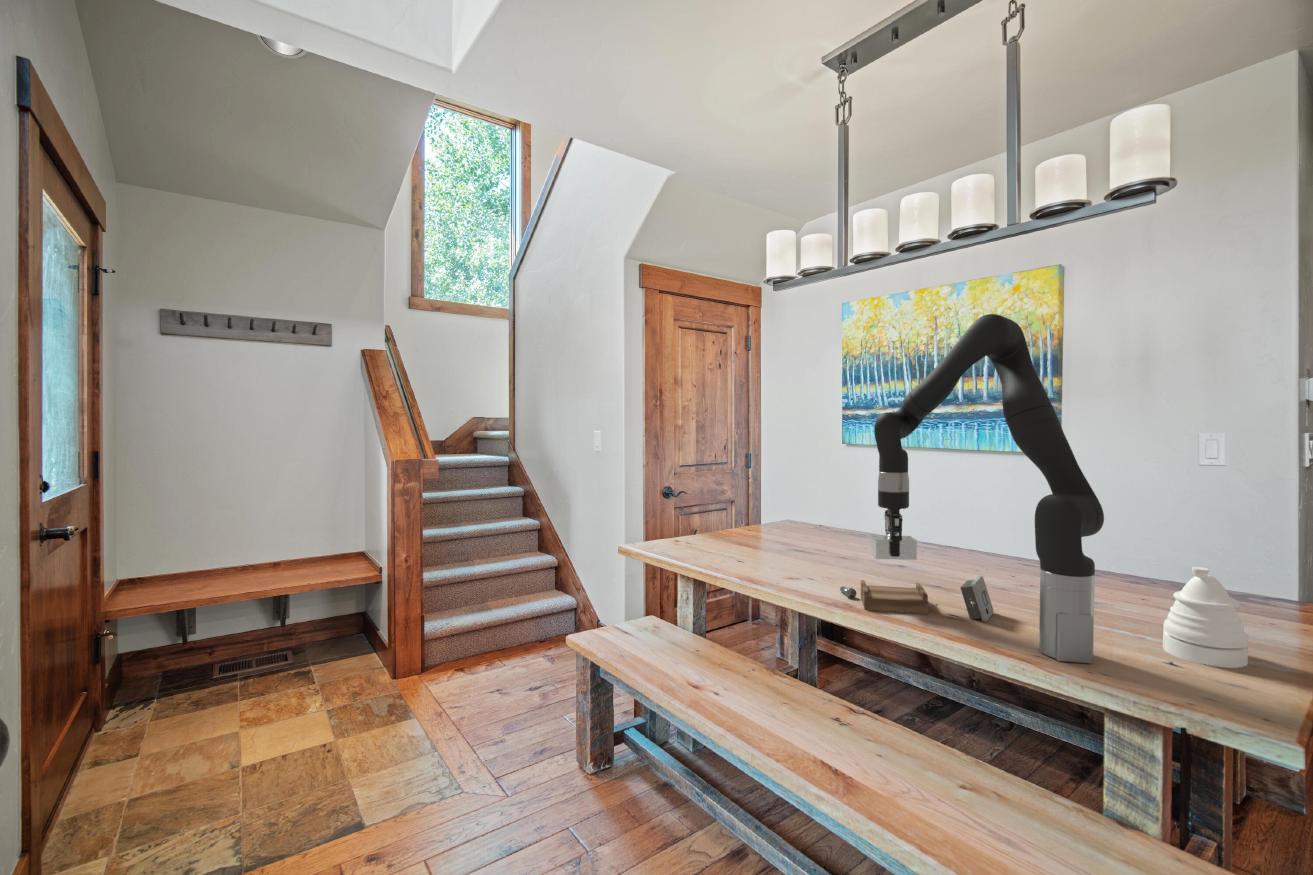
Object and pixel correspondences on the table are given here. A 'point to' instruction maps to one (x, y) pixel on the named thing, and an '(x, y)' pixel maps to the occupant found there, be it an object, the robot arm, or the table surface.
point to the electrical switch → (977, 599)
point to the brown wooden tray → (894, 598)
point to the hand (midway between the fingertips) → (893, 553)
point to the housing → (882, 548)
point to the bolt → (848, 592)
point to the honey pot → (1205, 624)
